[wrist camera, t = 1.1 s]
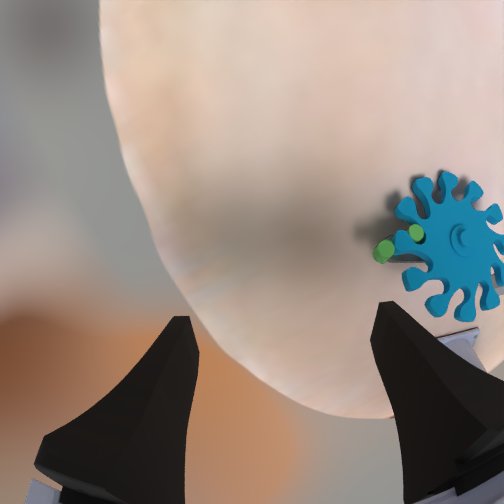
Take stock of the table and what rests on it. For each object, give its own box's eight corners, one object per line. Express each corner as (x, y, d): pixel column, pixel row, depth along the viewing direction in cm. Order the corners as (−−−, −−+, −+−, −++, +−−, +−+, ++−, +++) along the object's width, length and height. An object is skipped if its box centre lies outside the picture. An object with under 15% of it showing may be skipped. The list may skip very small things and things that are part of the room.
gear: (502, 175, 15) (525, 314, 12) (468, 206, 21) (481, 321, 18) (370, 159, 17) (383, 327, 14) (356, 200, 22) (360, 329, 20)
